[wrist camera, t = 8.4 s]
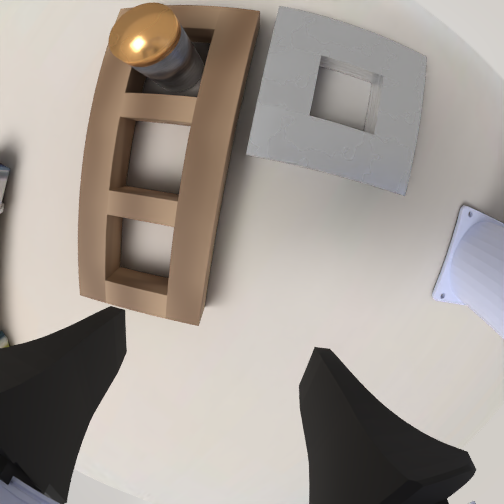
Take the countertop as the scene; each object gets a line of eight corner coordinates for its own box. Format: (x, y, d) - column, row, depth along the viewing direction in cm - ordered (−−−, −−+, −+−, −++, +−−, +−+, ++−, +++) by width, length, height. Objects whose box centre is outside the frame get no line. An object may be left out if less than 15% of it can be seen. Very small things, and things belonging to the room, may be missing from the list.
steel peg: (208, 51, 15) (183, 1, 8) (197, 94, 16) (165, 61, 9) (162, 48, 15) (120, 5, 8) (151, 90, 16) (100, 62, 9)
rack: (259, 27, 14) (259, 11, 12) (204, 307, 21) (198, 325, 18) (134, 22, 14) (120, 8, 12) (95, 281, 20) (80, 295, 18)
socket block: (413, 63, 15) (426, 57, 13) (391, 191, 18) (405, 195, 16) (277, 19, 14) (279, 5, 12) (246, 154, 17) (245, 154, 15)
